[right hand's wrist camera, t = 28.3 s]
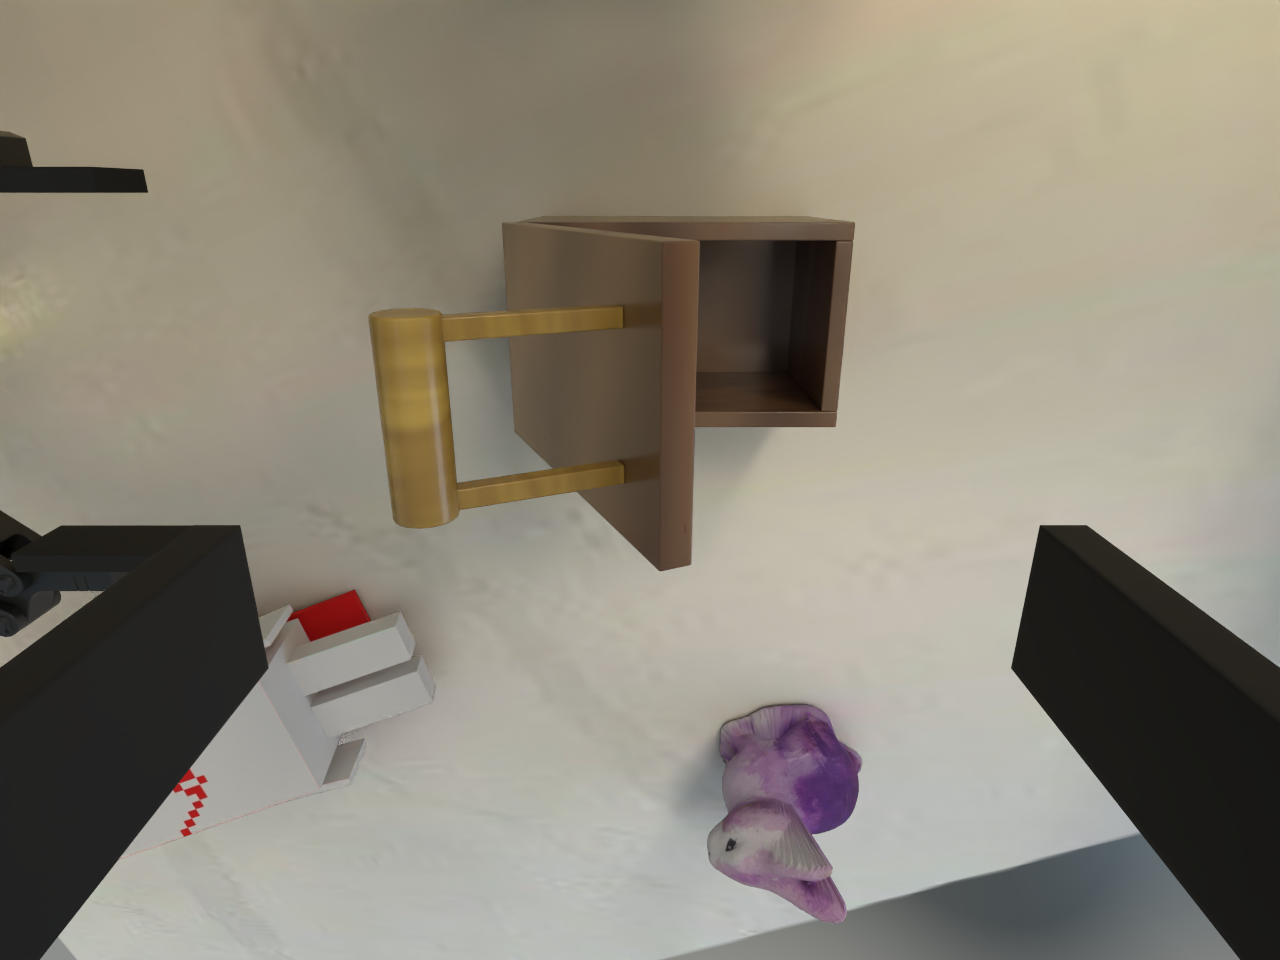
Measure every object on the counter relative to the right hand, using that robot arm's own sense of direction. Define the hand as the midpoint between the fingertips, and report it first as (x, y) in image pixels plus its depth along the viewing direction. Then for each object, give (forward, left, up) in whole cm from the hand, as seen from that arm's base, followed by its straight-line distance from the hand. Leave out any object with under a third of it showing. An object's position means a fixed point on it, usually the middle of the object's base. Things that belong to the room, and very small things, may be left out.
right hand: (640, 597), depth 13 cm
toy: (+40, -10, -38) cm, 55 cm away
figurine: (+23, +28, -38) cm, 52 cm away
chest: (-1, +2, -38) cm, 38 cm away
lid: (+1, -2, -19) cm, 19 cm away
